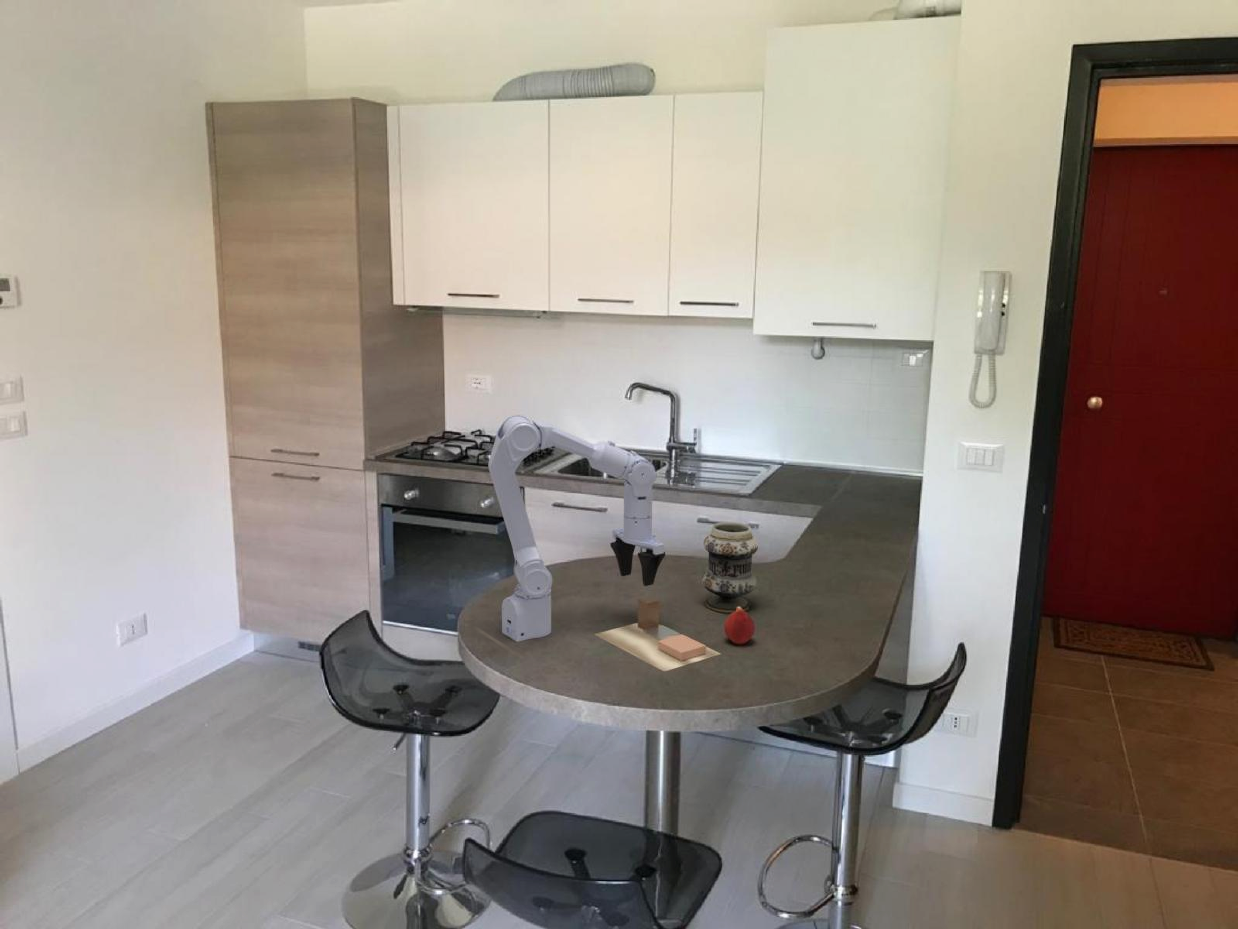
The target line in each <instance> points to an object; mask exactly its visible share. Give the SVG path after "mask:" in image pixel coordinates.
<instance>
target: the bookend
mask: <svg viewBox="0 0 1238 929" xmlns="http://www.w3.org/2000/svg"><path fill="white" fill-rule="evenodd" d="M637 602H638V603H637V605H638V606H637V607H638V608H637V623H638V628H640V629H643V633H645V634H647V635H649V636H651V637H653V638H655V639H657V640H659V641H660V640H664V639H667V638H671V637H674V636H678V635H681V634H680V632H678V631H675V630H673V629H672V628H669V627H667V626H665V625H663V624H660V623H659V622H660V621H659V620H660V618H659V617H660V599H657V598H655V597H653V596H650V595H649V596H645V597H640V598H639V599H637ZM659 625H661V626H659Z"/></svg>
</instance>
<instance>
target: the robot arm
mask: <svg viewBox="0 0 1238 929" xmlns="http://www.w3.org/2000/svg"><path fill="white" fill-rule="evenodd" d="M530 420H531V421H530ZM530 420H529V419H528V418H527V417H526V416H524V415H520V414H514V415H511V416H508V417H507V418H506V419H505V420H504V421H503V422H502V424H501V425H500V426H499V428H498V429H497V430H496V432H495V434H496V435H495V439H494V443H493V447H492V449H491V453H490V457H489V459H488V463H487V465H488V470H489V474H490V477H491V482H492V484H493V487H494V490H495V493H496V497H497V501H498V504H499V508H500V510H501V515H502V517H503V520H504V524H505V528H506V531H507V534H508V537H509V541H510V544H511V548H512V552H513V553H512V554H513V557H514V565H513V574H514V576H515V578H516V579H517V582H518V583H517V585H516V586H515V588H514V593H513V594H512V595H510V596H508V597H505V598H504V599H503V600H502V603H501V633H502V634H504V635H505V636H506V637H508V638H510V639H511V640H514V641H515V642H517V643H518V642H522V641H525V640H527V641H528V640H530V639H536V638H537V639H538V638H543V637H546V636H548V635H550V634H551V632H552V589H551V588H552V587H553V586H552V585H553V576H552V573H551V571H549V570H548V569H547V567H546V565H545V563H544V560H543V559H542V557H541V555H540V551H539V549H538V546H537V543H536V539H535V535H534V532H533V529H532V525H531V523H530V519H529V516H528V515H529V514H528V512H527V509H526V505H525V502H524V498H523V495H522V491H521V488H520V486H519V482H518V478H517V475H516V471H517V469H518V467H519V466H520V465H521V463H522V462H523V460H524V459H525V458H527V457H528V456H529V455H531V454H532V453H533V452H534V451H535V450H536V449H537V448H539V449H541V450H545V449H548V448H550V447H551V448H552V447H555V448H558V449H560V450H564V451H566V452H568V453H571V454H574V455H576V456H579V457H582V458H585V459H587V460H588V462H589V464H590V465H589V466H590V468H592V469H593V470H596V471H599V472H601V473H604V474H606V475H608V476H611V477H614V478H616V479H617V480H618V479H619V480H624V493H623V528H620V527H619V528H614V529H612V539H613V540H615V541H612V542H610V543H609V545H610V548H611V550H612V551H613V554H614V556H615V558H616V561H617V565H618V569H619V572H620V576H621V577H626V576H629V575H630V576H631V574H632V570H633V569H632V568H633V557H634V553H635V549H636V547H638V548H641V549H644V550H645V551H642V552H638V553H637V557H638V559H639V562H640V565H641V566H640V567H641V572H642V573H641V574H642V575H641V576H642V584H643V586H645V587H648V586H652V585H654V583H655V579H656V576H657V572H658V569H659V567H660V565H661V562H662V561H663V559H664V558H665V557H666V552H665V551H664V550H665V549H664V548H665V547H664V546H665V545H664V543H662V542H660V541H659V540H658V539H656V534H655V533H652V531H653V530H652V529H653V528H652V527H653V526H652V525H653V523H652V522H653V485H654V483H655V482H656V481H657V477H658V473H657V472H656V468H655V465H653V463H652V462H651V461H649V460H648V459H646V458H645V457H643V456H642V455H640V454H638V453H636V451H633V450H630V451H627V450H625V449H623V448H621V447H619V446H616V442H614V441H612V440H607V442H606V441H604V440H601V441H599V442H596V443H591V442H589V441H587V440H585V439H583V438H581V437H579V436H576V435H575V434H572V433H570V432H568V431H566V430H564V429H561V428H560V427H559V428H558V427H556V426H554V425H552V424H551V423H550V424H549V423H547V422H544V421H540V420H538V419H533V418H530Z"/></svg>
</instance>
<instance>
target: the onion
mask: <svg viewBox="0 0 1238 929" xmlns="http://www.w3.org/2000/svg"><path fill="white" fill-rule="evenodd" d="M723 627H724V632H725V635H726V637H727V638H728V639H729V640H730V641H731V643H734V644H736V645H744V644H746V643H748V642H749V641H750V639H752V637H753V636H754V634H755V630H756V629H755V627H756V626H755V624H754V621H753V618H752V616H751V615H750V614H749V613H747V611H744V610H742V609H741V607H736V611H735V612H733V613H729V615H728V616H727V617H726V620H725V622H724V625H723Z"/></svg>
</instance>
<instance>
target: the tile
mask: <svg viewBox="0 0 1238 929" xmlns="http://www.w3.org/2000/svg"><path fill="white" fill-rule="evenodd" d="M706 647H707V645H705V644H704V643H701V642H699V641H697V640H695V639H693V638H691V637H688V636H686V635H685V634H682V633H681V634H680V635H678V636H674V637H671V638H667V639H664V640H660V641H658V649H659V650H661V651H663V652H665V653H667V654H669V655H671V656H673V657H675V658H677V659H679V660H681V661H683V660H686V659H690V658H693V657H696V656H699V655H703V654H705V653H706Z"/></svg>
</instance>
